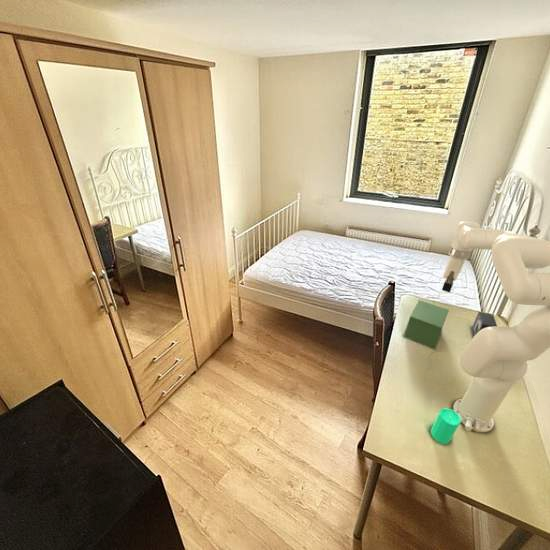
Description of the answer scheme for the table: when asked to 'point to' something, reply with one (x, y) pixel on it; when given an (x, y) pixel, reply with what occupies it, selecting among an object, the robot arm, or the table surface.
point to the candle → (445, 425)
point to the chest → (422, 333)
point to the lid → (429, 314)
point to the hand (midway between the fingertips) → (446, 290)
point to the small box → (483, 322)
